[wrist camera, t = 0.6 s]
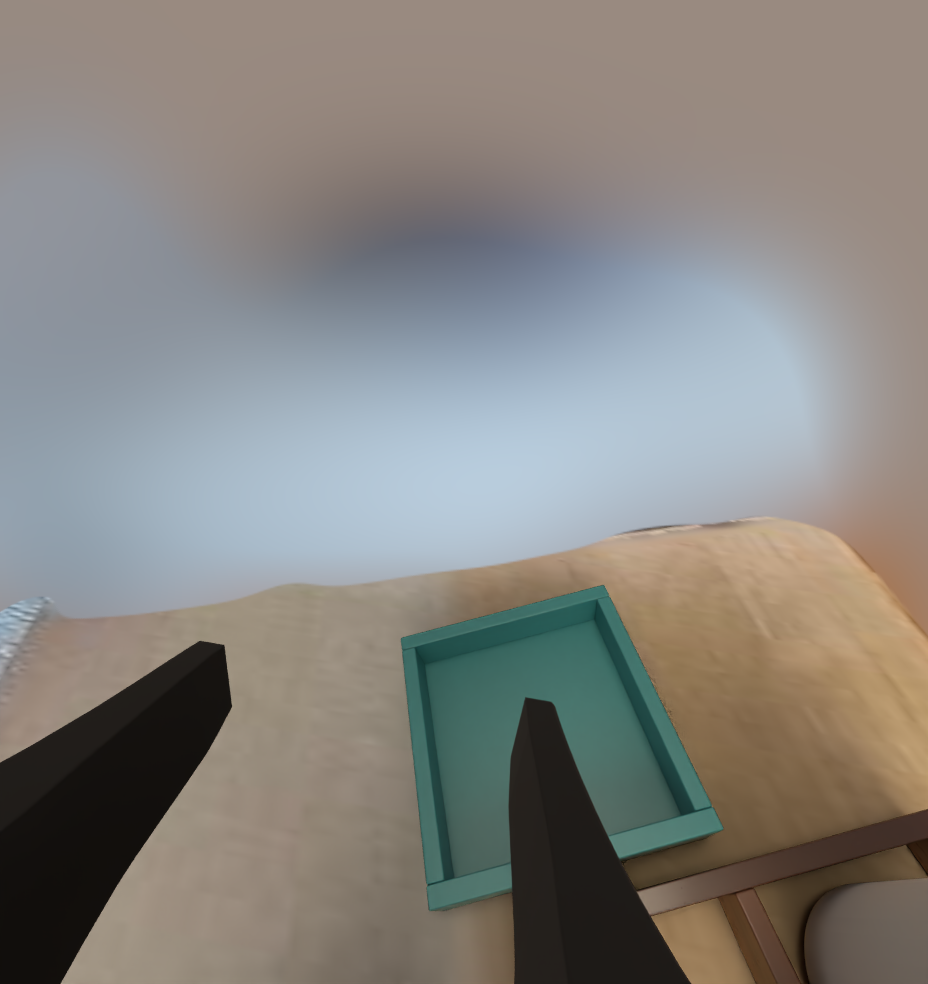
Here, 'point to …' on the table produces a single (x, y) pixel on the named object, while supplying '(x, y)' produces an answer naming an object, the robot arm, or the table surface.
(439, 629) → the teal square tray
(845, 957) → the beverage can
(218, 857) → the table surface
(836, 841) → the brown divided tray
